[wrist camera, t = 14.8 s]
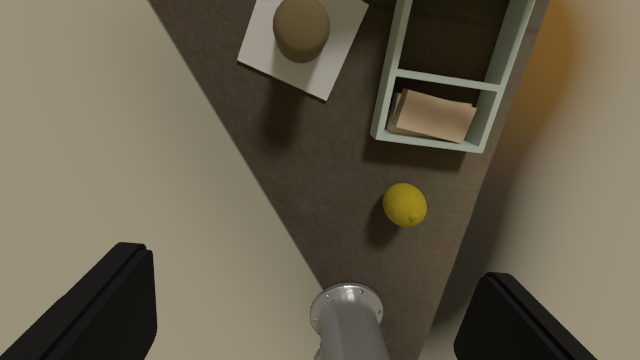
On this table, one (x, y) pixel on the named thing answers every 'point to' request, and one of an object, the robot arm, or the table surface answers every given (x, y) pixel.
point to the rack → (453, 79)
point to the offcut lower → (394, 129)
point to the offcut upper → (433, 116)
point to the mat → (309, 76)
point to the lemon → (404, 205)
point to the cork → (301, 29)
